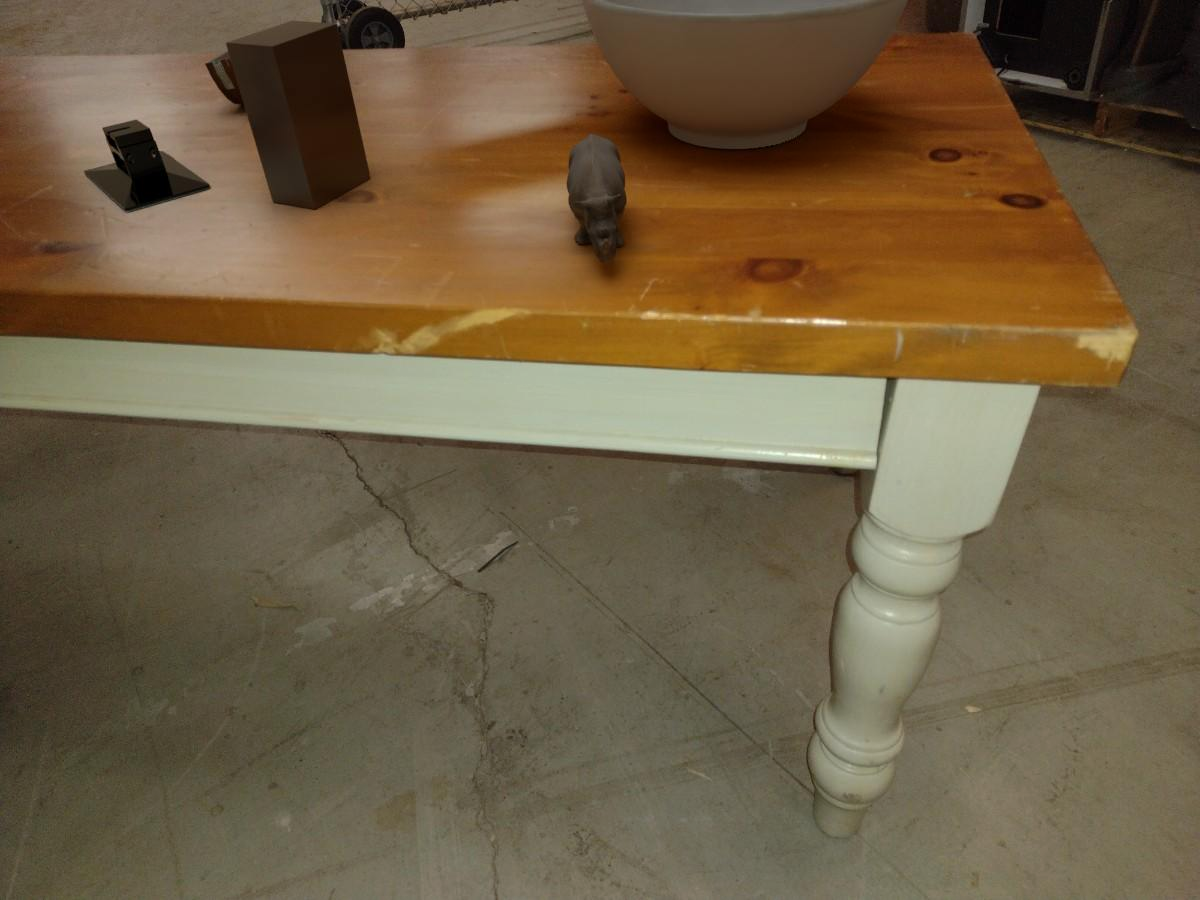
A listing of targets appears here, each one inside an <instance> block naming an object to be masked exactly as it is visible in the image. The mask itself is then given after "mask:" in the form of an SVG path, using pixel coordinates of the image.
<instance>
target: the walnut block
mask: <svg viewBox="0 0 1200 900" xmlns="http://www.w3.org/2000/svg"><path fill="white" fill-rule="evenodd" d="M339 31H340V30H339V27H338V23H335V22H319V21H305V20H304V21H303V20H290V21H286V22H283V23H280V24H277V25H274V26H272V27H269V28H265V29H263V30H260V31H257V32H254V33H251V34H247V35H245V36H241V37H239V38H236V39H232V40H230V41H226V42H225V45H226V48H227V49H226V50H227V51H228V52H229V55H230V59H231V62H232V66H233V69H234V72H235V76H236V79H237V82H238V86H239V89H240V93H241V96H242V99H243V103H244V104H243V106H244V109H245V112H246V116H247V119H248V120H247V121H248V123H249V127H250V130H251V133H252V137H253V140H254V143H255V146H256V150H257V153H258V156H259V160H260V164H261V167H262V170H263V173H264V174H263V175H264V177H265V180H266V184H267V187H268V190H269V194H270V197H271V201H272V203H276V204H280V205H281V204H282V205H288V206H292V207H293V206H294V207H297V208H305V209H311V210H317V209H319V208H321V207H322V206H324V205H326V204H327V203H329V202H331V201H333V200H335V199H336V198H338V197H340V196H342V195H343V194H345V193H347V192H349V191H350V190H353V189H354V188H356V187H357V186H360V185H361V184H364V183H365V182H367V181H368V180H370V179H371V173H370V168H369V163H368V159H367V154H366V150H365V146H364V141H363V135H362V132H361V127H360V123H359V118H358V113H357V109H356V104H355V100H354V94H353V91H352V86H351V82H350V77H349V73H348V67H347V64H346V60H345V59H346V58H345V55H344V54H345V53H344V49H343V46H342V40H341V35H340V32H339Z"/></svg>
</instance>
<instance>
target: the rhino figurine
mask: <svg viewBox="0 0 1200 900" xmlns="http://www.w3.org/2000/svg"><path fill="white" fill-rule="evenodd" d="M625 189H626V174H625V171H624V168H623V165H622V161H621V155H620V152H619V149H618V147H617V146H616V145H615V143H614V142H613V141H611V140H610V139H607V138H605V137H602V136H599V135H596V134H594V133H590V134H589V135H588V136H587V137H586V138H584V139H583V140H580V141H579V142H577V143H576V144H575V145H574V146H573V147H572V148H571V150H570V152H569V156H568V173H567V177H566V190H567V193H568V197H567V198H568V200H567V201H568V202H567V204H568V206H569V209H570V211H571V212H572V213H573V215H574V218H575V219H576V220H577V222H578V223H579V227H580V228H579V229H578V230H577V231H576V233H575V234H574V236H573V240H574V242H575V241H576V243H577V244H580V245H585V244H591V243H592V247H593V250H594V253H595V254H594V255H595V257H596V258H597V260H598V261H600V262H601V263H604V264H609V263H610V262H613V260H614V259H615V257H616V255H617V248H620V247H622V246H624V244H626V239H625V237H624V236H623V234H622V233H621V232H620V229H619V224H620V222H621V220H622V218H623V215H624V213H625V208H626V205H627V203H628V202H627V201H628V199H627V193H626V190H625Z"/></svg>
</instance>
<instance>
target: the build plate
mask: <svg viewBox="0 0 1200 900" xmlns="http://www.w3.org/2000/svg"><path fill="white" fill-rule="evenodd" d="M101 130H102V132H103V134H104V137H105V142H106V143H107V146H108V148H109V151H110V154H111V156H112V158H113V161H114V162H112V163H108V164H105V165H104V164H103V165H100V166H97V167H93V168H89V169H85V170H83V173H84V176H86V178H87V179H89V180H90V181H91V182H92V183H93V184H94V185H95V186H96V187H98V189H100V190H101V192H103V193H104V194H105V195H106V196H107V197H108V198H110V200H112V201H113V202H114V203H115V204H116V205H117V206H118V207H120V209H122V211H124V212H125V213H129V212H133V211H136V210H140V209H143V208H146V207H150V206H153V205H157V204H161V203H165V202H167V201H171V200H174V199H179V198H180V197H181V198H182V197H186V196H190V195H193V194H195V193H199V192H202V191H205V190H209V189H211V185H210V183H209V182H208V181H206V180H205V179H203V178H202V177H200V176H199V175H198V174H196V173H195V172H193V170H190V169H189V168H188V167H187V166H185V165H183V164H182V163H181V162H180V161H178V160H176V158H174V157H173V156H171V155H170V154H169V153H167V152H165V151H164V150H160V149H159V147H158V144H157V141H156V140H155V138H154V135H153V132H152V130H151V128H150V127H148V126H147V125H146V124H144V123H143V122H141V121H139V120H138V119H132V120H129V121H124V122H121V123H116V124H111V125H107V126H103V127H101Z"/></svg>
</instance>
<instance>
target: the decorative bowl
mask: <svg viewBox="0 0 1200 900" xmlns="http://www.w3.org/2000/svg"><path fill="white" fill-rule="evenodd" d="M581 1H582V5H583V9H584V13H585V15H586V19H587V21H588V24H589V26H590V29H591V32H592V35H593V37H594V39H595V42H596V44H597V46H598V48H599V50H600V52H601V54H602V56H603V57H604V59H605V61H606V62H607V64H608V66H609V67H610V69H611V70H612V72H613V74H614V75H615V76H616V79H618V81H619V83H621V84H622V85H623V87H624V88H625V90H627V91H628V92H629V94H630V95H631V96H632V97H633V98H634V99H636V101H637V102H639V103H640V104H641V105H642V106H643V107H644V108H646V109H647V110H649V111H650V112H651V113H653V114H654V115H656V116H658V117H659V118H661V119H662V120H665V121H666V122H667V128H668V132H669V133H670V134H671V135H672V136H673V137H675V138H676V139H678V140H680V141H681V142H684V143H687V144H690V145H693V146H698V147H703V148H710V149H719V150H750V148H751V150H752V149H759V147H761V148H767V147H766V146H768V147H772V146H771V145H773V146H777V145H781V144H783V143H782V142H784V143H786V142H785V141H787V142H789V141H788V140H790V141H792V140H794V139H796V138H797V136H798V135H799V136H801V135H802V134H803V133H804V132H805V130H806V127H807V124H808V120H810V119H812V118H814V117H816V116H818V115H819V114H821V113H823V112H824V111H826V110H827V109H829V108H830V107H832V106H834V104H836V103H837V102H838V101H839V100H841V99H842V98H843V97H844V96H845V95H846V94H848V93H849V92H850V91H851V90H852V89H853V88H854V87H855V86H856V85H857V84H858V82H859V81H860V80H861V79H862V78H863V77H864V76H865V75H866V73H868V71H869V70H870V68H871V67H872V66H873V64H875V62H876V60H877V59H878V58H879V56H880V54H881V53H882V51H883V50H884V48H885V47H886V45H887V44H888V42H889V40H890V38H891V37H892V35H893V33H894V31H895V30H896V27H897V25H898V23H899V21H900V19H901V17H902V15H903V13H904V11H905V8H906V6H907V4H908V1H909V0H581ZM803 131H804V132H803ZM802 132H803V133H802ZM801 133H802V134H801ZM800 134H801V135H800ZM799 136H798V137H799ZM795 137H796V138H795ZM793 138H794V139H793ZM791 139H792V140H791ZM780 143H781V144H780ZM776 144H777V145H776Z"/></svg>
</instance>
